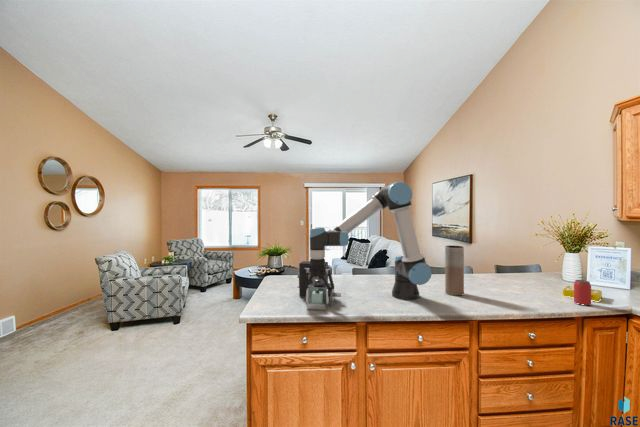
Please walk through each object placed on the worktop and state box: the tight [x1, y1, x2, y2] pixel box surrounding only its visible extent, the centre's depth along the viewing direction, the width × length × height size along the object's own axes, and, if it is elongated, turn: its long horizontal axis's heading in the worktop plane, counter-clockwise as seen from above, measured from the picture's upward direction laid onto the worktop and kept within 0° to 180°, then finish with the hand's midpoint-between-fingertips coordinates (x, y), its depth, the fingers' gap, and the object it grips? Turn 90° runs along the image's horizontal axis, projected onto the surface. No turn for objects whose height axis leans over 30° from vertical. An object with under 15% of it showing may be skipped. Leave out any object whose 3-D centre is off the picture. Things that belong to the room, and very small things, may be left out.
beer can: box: [573, 279, 592, 306], centre depth 149 cm, size 7×7×12 cm
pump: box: [312, 289, 323, 304], centre depth 145 cm, size 5×6×8 cm
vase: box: [444, 245, 465, 296], centre depth 170 cm, size 10×10×28 cm
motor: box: [305, 279, 342, 312], centre depth 148 cm, size 18×16×12 cm
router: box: [296, 260, 331, 298], centre depth 167 cm, size 8×18×20 cm, turn 78°
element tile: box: [562, 285, 603, 301], centre depth 162 cm, size 15×15×5 cm
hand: (317, 302), depth 145 cm, fingers open, 9 cm apart
